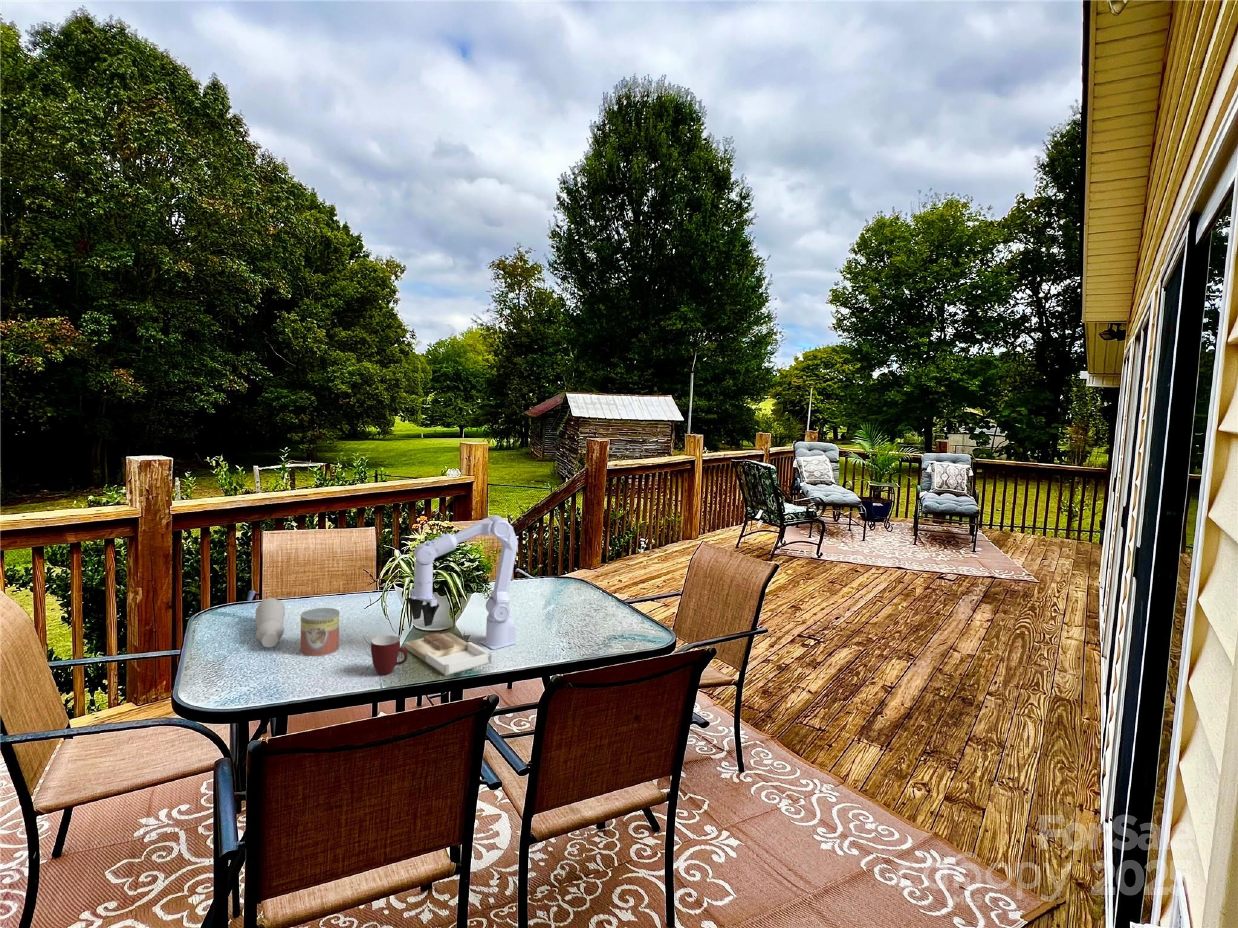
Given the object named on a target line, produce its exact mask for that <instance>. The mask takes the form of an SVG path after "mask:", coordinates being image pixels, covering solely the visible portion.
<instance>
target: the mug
mask: <svg viewBox="0 0 1238 928" xmlns="http://www.w3.org/2000/svg"><path fill="white" fill-rule="evenodd" d="M400 641H401V640H400V638H399V637H398V636H395V635H380V636H376V637H373V638H372V639H371V640H370V654H371V659H372V665H373V668H374V669H375V672H376V673H377V674H378V675H380V676H387V675H390V674H391V673H393V671H394V669H395V667H396V666H401V665H403V664H404V663H406V662H407V660H408V657H409V654H408V652H407V651H408V650H407V649H406V648H403V647H400V646H401V645H400ZM400 653H402V654H403V656H404V657H403V660H401V661H398V657H399V654H400Z"/></svg>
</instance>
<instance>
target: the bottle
mask: <svg viewBox="0 0 1238 928" xmlns="http://www.w3.org/2000/svg"><path fill="white" fill-rule="evenodd" d="M285 616H286V609H285V604H284V603H283V601H281V600H278V599H276V598H275V597H268V598H265V599H262V600H261V602H260V603H259V604H258V605H257V607H256V608H255V620H256V627H257V628H256V633H255V635H256V638H257V640H258V641H259V642H261V644H262V646H263V647H265V648H273V647H275V646H276V645H277V644H278V643H279V641H280V640H281V639H282V638H283V636H284V634H285V633H284V632H285V629H284V627H283V626H284V620H285V618H284V617H285Z"/></svg>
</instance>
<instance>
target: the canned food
mask: <svg viewBox="0 0 1238 928" xmlns="http://www.w3.org/2000/svg"><path fill="white" fill-rule="evenodd" d="M339 631H340V610H339V609H335V608H332V607H330V608H329V607H319V608H313V609H308V610H305V611H304V612H302V613H301V614H300V649H299V651H300V652H301V653H302V654H303V656H305V655H306V656H305V657H310V656H317V657H324V656H330V655H332V654H334V653H336V652H338V651H339V648H340V646H339V644H340V643H339V642H340V641H339V639H340V636H339V635H340V632H339ZM300 652H299V653H300ZM301 653H300V654H301ZM331 653H332V654H331ZM302 654H301V655H302Z"/></svg>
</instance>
